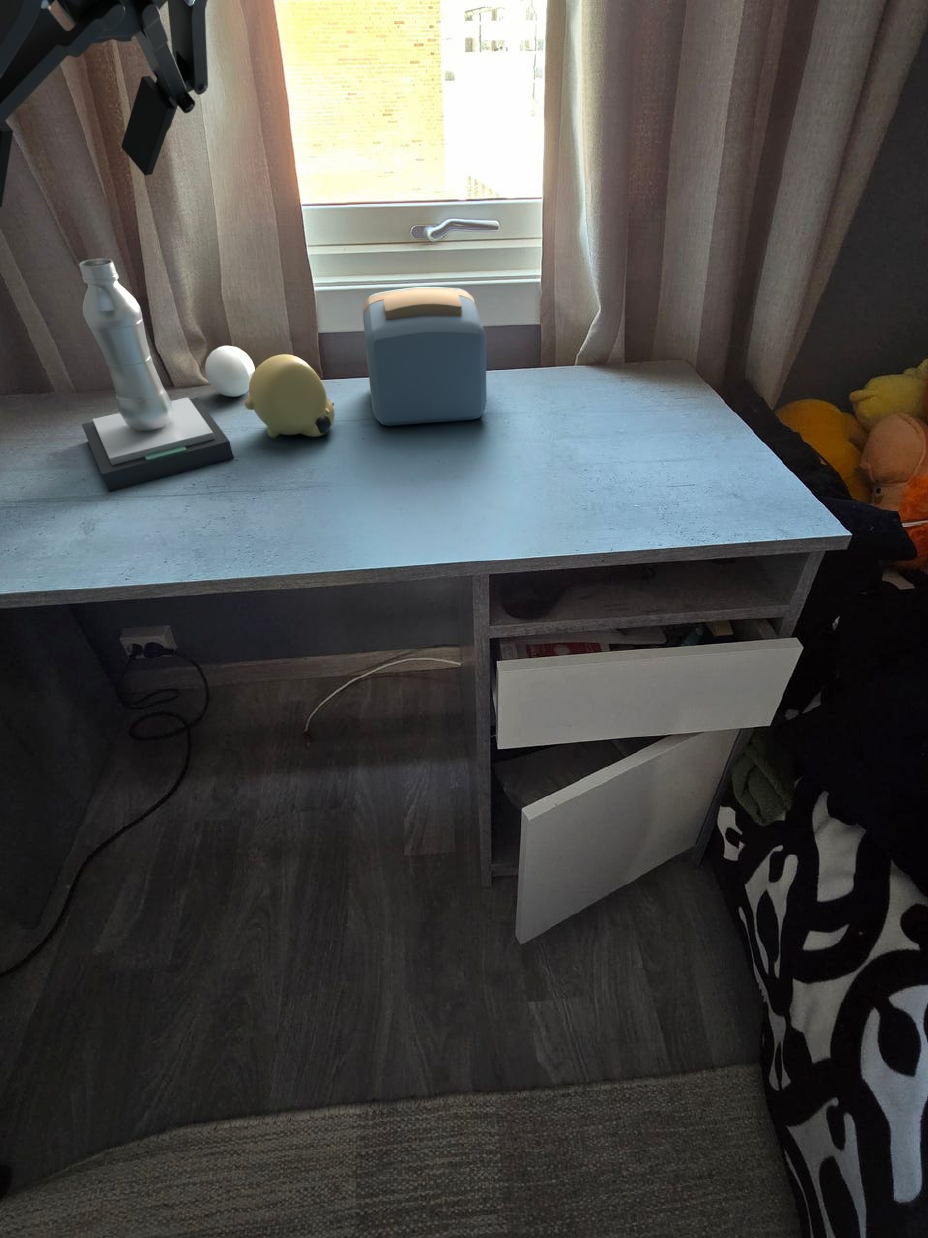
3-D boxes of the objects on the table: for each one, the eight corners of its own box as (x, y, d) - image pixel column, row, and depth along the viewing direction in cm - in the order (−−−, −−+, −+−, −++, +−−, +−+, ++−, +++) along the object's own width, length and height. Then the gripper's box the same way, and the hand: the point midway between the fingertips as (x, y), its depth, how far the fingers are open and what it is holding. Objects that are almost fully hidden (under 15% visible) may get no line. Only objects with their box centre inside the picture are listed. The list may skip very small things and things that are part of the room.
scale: (108, 491, 86) (98, 466, 84) (88, 440, 97) (78, 417, 94) (234, 458, 92) (227, 433, 90) (202, 413, 103) (195, 390, 100)
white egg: (256, 403, 105) (245, 355, 100) (207, 405, 105) (193, 357, 100) (267, 377, 112) (257, 331, 107) (221, 378, 112) (209, 332, 107)
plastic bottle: (149, 441, 89) (90, 273, 75) (115, 429, 91) (52, 265, 78) (187, 421, 93) (138, 259, 79) (154, 410, 95) (101, 252, 82)
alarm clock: (472, 377, 111) (471, 270, 100) (488, 422, 99) (489, 306, 88) (370, 384, 109) (359, 277, 99) (374, 431, 97) (361, 314, 87)
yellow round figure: (298, 469, 97) (348, 421, 92) (225, 412, 91) (274, 357, 86) (307, 434, 104) (354, 388, 99) (240, 379, 98) (286, 327, 93)
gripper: (-30, -85, 30) (-55, 257, 45) (327, -57, 46) (217, 187, 61) (-173, -263, 28) (-149, 155, 44) (249, -169, 44) (157, 111, 60)
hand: (65, 174), depth 52 cm, fingers open, 13 cm apart
